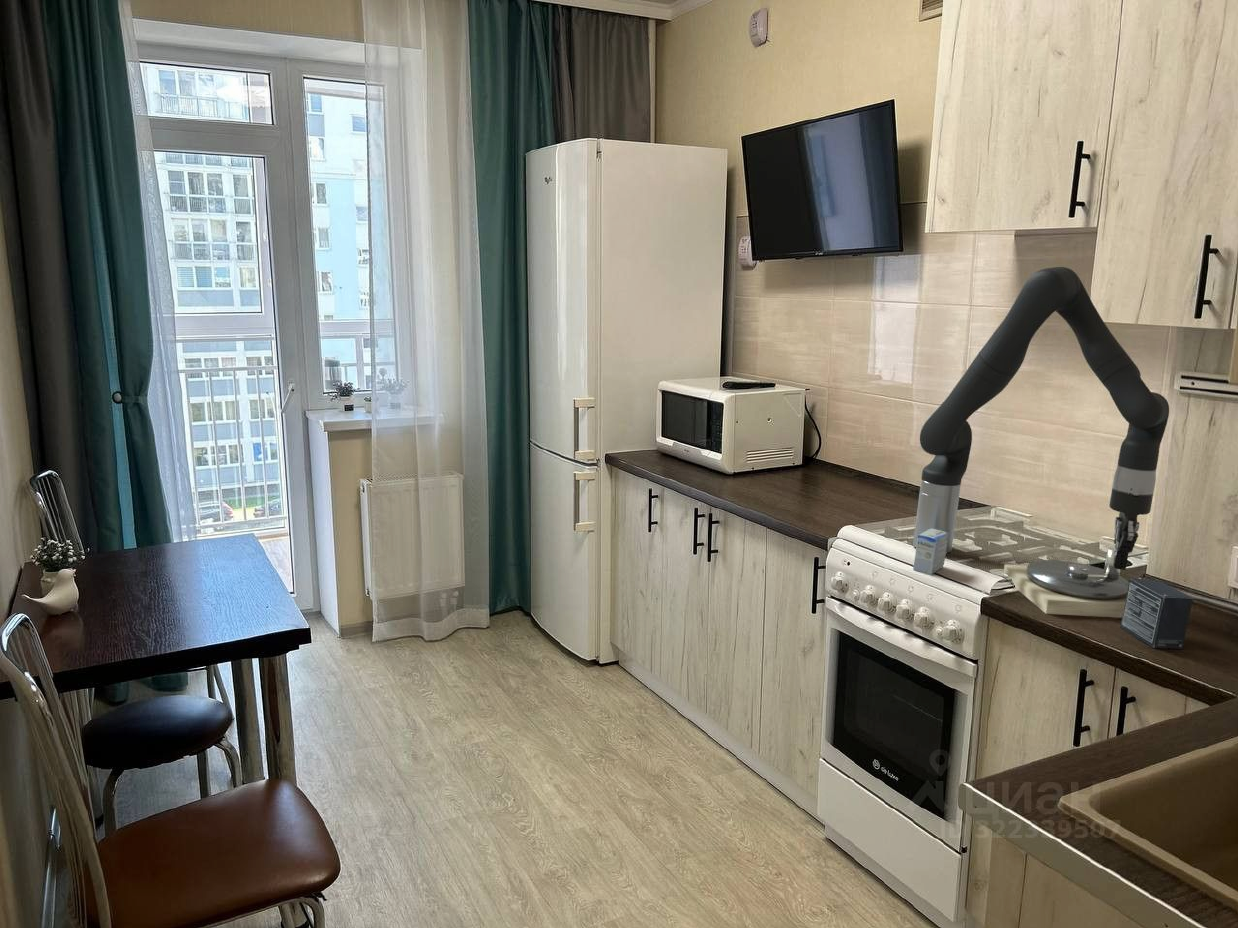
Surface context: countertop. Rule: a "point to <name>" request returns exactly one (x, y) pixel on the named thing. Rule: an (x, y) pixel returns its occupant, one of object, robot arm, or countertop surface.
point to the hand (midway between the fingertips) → (1119, 568)
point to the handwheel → (1080, 578)
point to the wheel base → (1062, 598)
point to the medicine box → (930, 551)
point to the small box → (1156, 613)
